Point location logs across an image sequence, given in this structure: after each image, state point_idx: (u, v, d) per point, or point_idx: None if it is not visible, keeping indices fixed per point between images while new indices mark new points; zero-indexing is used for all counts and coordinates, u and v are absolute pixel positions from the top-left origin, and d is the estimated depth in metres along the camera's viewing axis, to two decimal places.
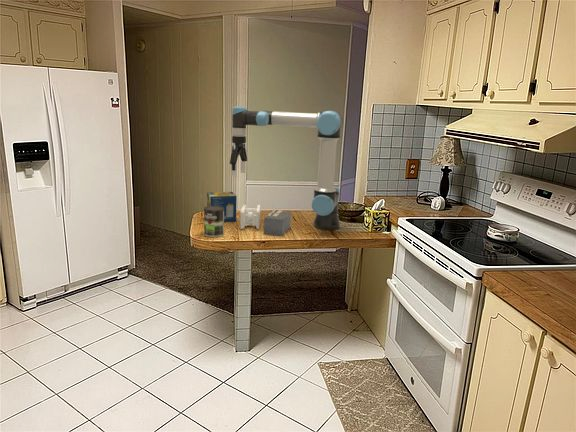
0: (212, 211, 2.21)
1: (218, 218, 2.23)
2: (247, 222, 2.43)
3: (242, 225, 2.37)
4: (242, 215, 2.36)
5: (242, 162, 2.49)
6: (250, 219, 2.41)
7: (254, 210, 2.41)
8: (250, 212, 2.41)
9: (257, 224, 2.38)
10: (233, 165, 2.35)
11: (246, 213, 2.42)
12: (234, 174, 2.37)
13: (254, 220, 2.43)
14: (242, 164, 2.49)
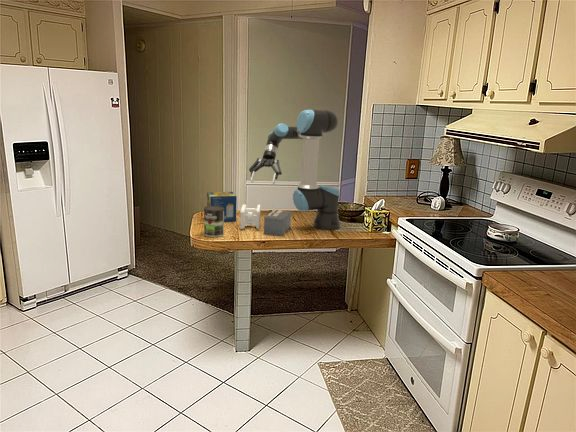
0: (212, 211, 2.21)
1: (218, 218, 2.23)
2: (247, 222, 2.43)
3: (242, 225, 2.37)
4: (242, 215, 2.36)
5: None
6: (250, 219, 2.41)
7: (254, 210, 2.41)
8: (250, 212, 2.41)
9: (257, 224, 2.38)
10: None
11: (246, 213, 2.42)
12: None
13: (254, 220, 2.43)
14: None
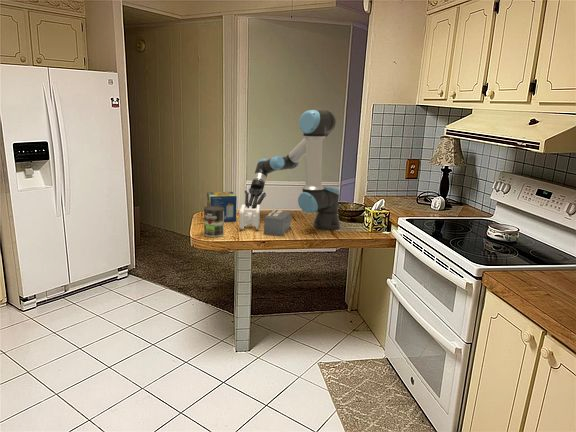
0: (212, 211, 2.21)
1: (218, 218, 2.23)
2: (246, 222, 2.41)
3: (241, 226, 2.35)
4: (241, 216, 2.34)
5: None
6: (249, 219, 2.40)
7: (253, 210, 2.40)
8: (249, 212, 2.40)
9: (257, 225, 2.36)
10: None
11: (245, 213, 2.40)
12: None
13: (253, 220, 2.41)
14: None
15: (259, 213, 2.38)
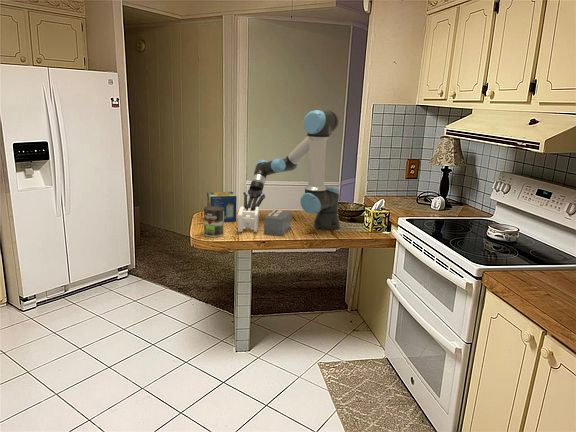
0: (212, 211, 2.21)
1: (218, 218, 2.23)
2: (245, 225, 2.36)
3: (240, 228, 2.30)
4: (240, 218, 2.29)
5: None
6: (248, 222, 2.35)
7: (252, 213, 2.34)
8: (248, 215, 2.34)
9: (255, 228, 2.31)
10: None
11: (244, 216, 2.35)
12: None
13: (252, 223, 2.36)
14: None
15: None
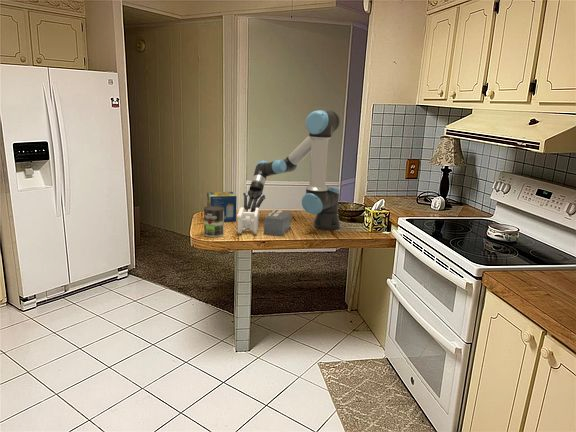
0: (212, 211, 2.21)
1: (218, 218, 2.23)
2: (244, 226, 2.34)
3: (239, 230, 2.28)
4: (239, 220, 2.26)
5: None
6: (247, 223, 2.32)
7: (252, 214, 2.32)
8: (248, 216, 2.32)
9: (255, 229, 2.29)
10: None
11: (243, 217, 2.32)
12: None
13: (252, 224, 2.33)
14: None
15: None
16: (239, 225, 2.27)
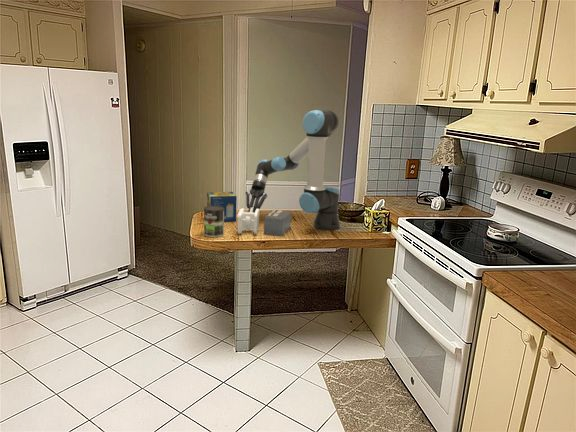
0: (212, 211, 2.21)
1: (218, 218, 2.23)
2: (245, 227, 2.34)
3: (239, 230, 2.28)
4: (239, 220, 2.27)
5: None
6: (248, 224, 2.32)
7: (252, 214, 2.32)
8: (248, 216, 2.32)
9: (255, 229, 2.29)
10: (249, 208, 2.46)
11: (244, 217, 2.33)
12: None
13: (252, 225, 2.34)
14: None
15: None
16: (239, 225, 2.27)
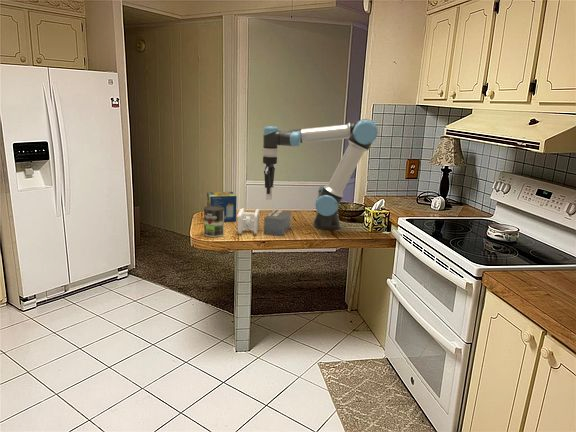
0: (212, 211, 2.21)
1: (218, 218, 2.23)
2: (245, 227, 2.34)
3: (239, 230, 2.28)
4: (239, 219, 2.27)
5: None
6: (248, 224, 2.32)
7: (252, 214, 2.32)
8: (248, 216, 2.32)
9: (255, 229, 2.29)
10: (268, 189, 2.37)
11: (244, 217, 2.33)
12: (269, 197, 2.39)
13: (252, 225, 2.34)
14: None
15: None
16: (239, 225, 2.27)
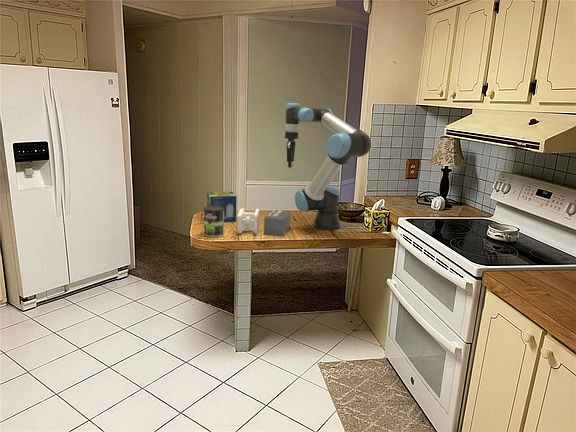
0: (212, 211, 2.21)
1: (218, 218, 2.23)
2: (245, 227, 2.34)
3: (239, 230, 2.28)
4: (239, 220, 2.27)
5: None
6: (248, 224, 2.32)
7: (252, 214, 2.32)
8: (248, 216, 2.32)
9: (255, 229, 2.29)
10: (289, 162, 2.51)
11: (244, 217, 2.33)
12: (290, 171, 2.54)
13: (252, 225, 2.34)
14: None
15: None
16: (239, 225, 2.27)
